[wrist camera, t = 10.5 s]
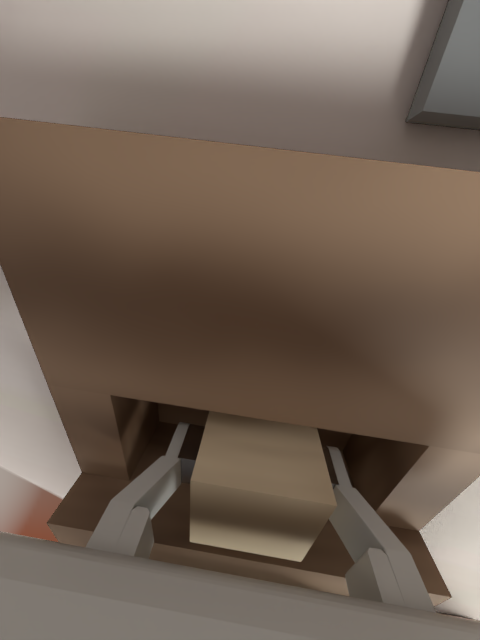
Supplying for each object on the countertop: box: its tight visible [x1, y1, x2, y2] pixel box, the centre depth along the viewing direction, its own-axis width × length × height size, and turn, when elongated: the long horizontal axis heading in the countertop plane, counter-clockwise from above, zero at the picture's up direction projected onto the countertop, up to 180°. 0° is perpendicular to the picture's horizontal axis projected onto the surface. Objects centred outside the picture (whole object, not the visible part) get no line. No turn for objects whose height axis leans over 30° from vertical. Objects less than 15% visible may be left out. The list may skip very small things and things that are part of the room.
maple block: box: [190, 411, 337, 562], centre depth 10 cm, size 4×4×6 cm
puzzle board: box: [0, 117, 480, 607], centre depth 11 cm, size 24×17×6 cm
